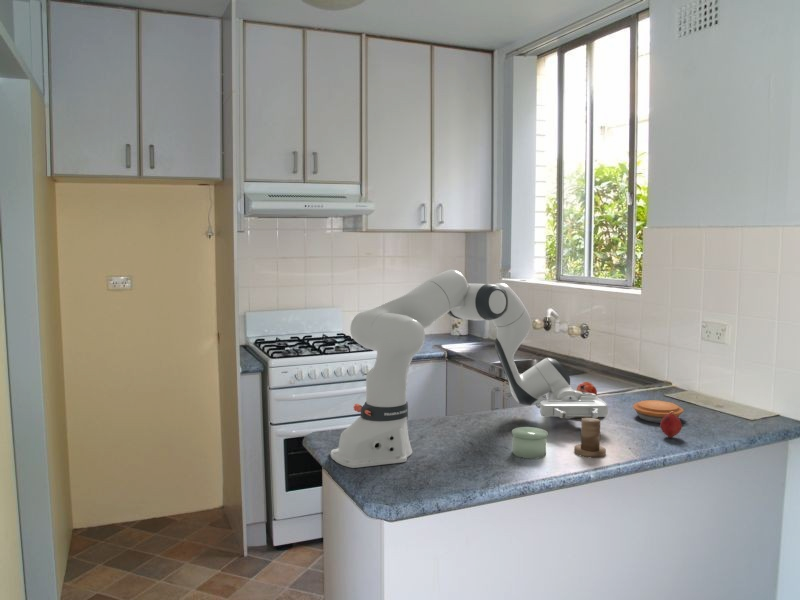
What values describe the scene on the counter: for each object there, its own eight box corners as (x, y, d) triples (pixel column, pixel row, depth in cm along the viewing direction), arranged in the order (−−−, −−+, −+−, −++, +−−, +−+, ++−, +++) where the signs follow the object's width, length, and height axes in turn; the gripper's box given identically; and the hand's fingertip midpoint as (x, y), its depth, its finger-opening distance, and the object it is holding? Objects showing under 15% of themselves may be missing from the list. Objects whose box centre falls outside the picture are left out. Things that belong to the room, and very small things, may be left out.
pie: (674, 412, 228) (675, 398, 228) (689, 426, 213) (690, 410, 212) (627, 411, 230) (628, 397, 229) (639, 424, 214) (639, 409, 214)
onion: (668, 441, 197) (669, 414, 196) (655, 435, 202) (656, 409, 202) (685, 439, 198) (686, 413, 198) (672, 434, 204) (673, 408, 203)
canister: (527, 461, 179) (527, 439, 179) (504, 451, 188) (504, 430, 187) (554, 455, 184) (554, 433, 184) (530, 445, 193) (531, 425, 192)
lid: (590, 459, 181) (591, 426, 180) (567, 450, 188) (568, 418, 187) (612, 454, 185) (613, 422, 184) (589, 446, 192) (590, 414, 191)
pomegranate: (581, 404, 247) (566, 390, 243) (593, 388, 248) (577, 374, 243) (595, 411, 241) (580, 397, 236) (607, 394, 241) (591, 380, 237)
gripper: (534, 393, 211) (544, 405, 197) (599, 393, 211) (614, 405, 198) (534, 413, 212) (543, 426, 198) (599, 413, 212) (613, 426, 198)
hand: (579, 415), depth 198 cm, fingers open, 8 cm apart
